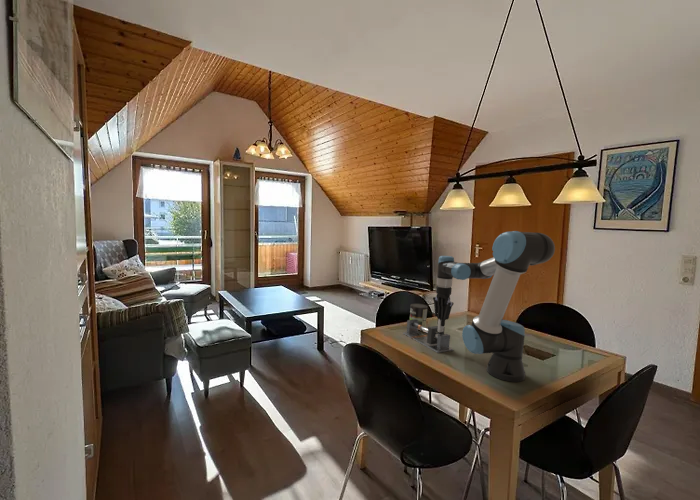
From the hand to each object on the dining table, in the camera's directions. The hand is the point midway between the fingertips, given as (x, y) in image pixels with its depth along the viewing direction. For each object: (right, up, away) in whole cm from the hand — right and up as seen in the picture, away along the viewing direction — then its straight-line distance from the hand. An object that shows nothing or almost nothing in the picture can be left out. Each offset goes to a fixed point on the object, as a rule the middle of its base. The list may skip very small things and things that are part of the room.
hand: (440, 331), depth 172 cm
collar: (-2, -7, +3) cm, 8 cm away
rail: (-5, -8, +10) cm, 14 cm away
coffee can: (-5, -6, +33) cm, 34 cm away
